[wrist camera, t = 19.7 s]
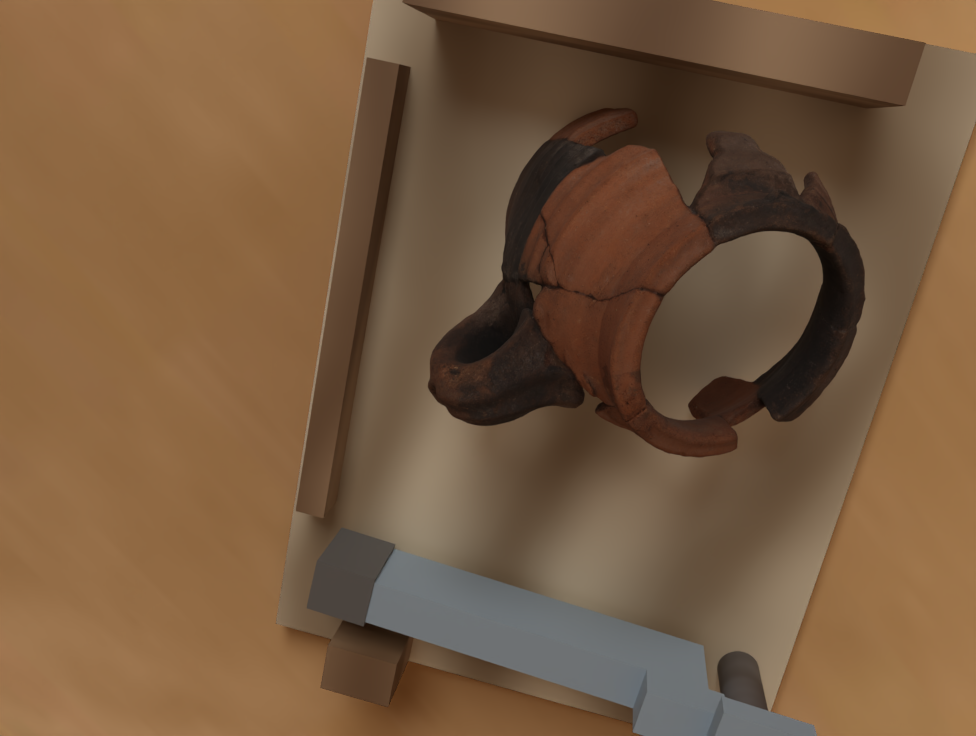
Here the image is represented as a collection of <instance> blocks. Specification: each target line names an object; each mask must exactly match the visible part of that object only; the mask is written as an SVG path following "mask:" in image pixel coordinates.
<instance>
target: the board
mask: <svg viewBox="0 0 976 736" xmlns="http://www.w3.org/2000/svg"><path fill="white" fill-rule="evenodd" d="M603 108H613V109H616V108H629V109H632V110H634V111H635V112H636V114H637V117H638V124H637V126H636V127H634V128H632V129H629V130H626V131H624V132H621V133H618V134H616V135H613V136H611V137H609V138H607V139H604V140H602V141H600V142H598V143H596V144H595V145H593V147H596V148H598V149H602V150H603V151H604V153H605V155H606V156H608V155H610V154H611V153H613V152H615V151H617V150H618V149H620V148H622V147H625V146H627V145H641V146H644V147H647V148H648V149H655V150H657V151H658V153H659V154H660V156H661V158H662V161H663V163H664V165H665V167H666V168H667V170H668V172H669V174H670V176H671V178H672V180H673V182H674V184H675V185H676V186H677V187H678V189H679V191H680V193H681V195H682V198H683V200H684V202H685V203H686V205H687V206H690V205H691V203H692V202H693V200H694V198H695V196H696V194H697V192H698V191H699V190H700V188H701V186H702V183H703V181H704V178H705V175H706V171H707V168H708V165H709V163H710V162H711V160H712V159H713V158H712V156H711V155H710V153H709V151H708V149H707V145H706V137H707V135H708V134H709V133H711V132H714V131H727V132H736V133H744V134H747V135H749V136H750V137H752V138H753V139H754V140H755V142H756V143H757V145H758V146H759V148H760V149H761V150H762V151H763V152H765V153H767V154H769V155H771V156H773V157H774V158H776V159H777V160H779V161H780V162H781V163H782V164H783V166H784V167H785V169H786V170H787V172H788V173H789V174H790V175H791V176H792V178H793V180H794V183H795V186H796V189H797V190H798V193H799V195H800V194H801V193H802V191H803V190H804V181H803V180H804V177H805V176H806V175H807V173H809V172H816V173H817V174H818V176H819V178H820V180H821V182H822V183H823V185H824V187H825V189H826V190H827V192H828V194H829V196H830V199H831V201H832V205H833V207H834V210H835V213H836V217H837V220H838V223H840V224H842V225H843V226H845V227H846V228H847V230H848V232H849V234H850V236H851V237H852V238H853V240H854V241H855V243H856V244H857V247H858V249H859V251H860V255H861V258H862V260H863V265H864V269H865V286H864V288H865V289H864V291H865V298H866V300H865V302H864V306H863V309H862V315H861V318H860V321H859V322H858V323H857V325H856V326H857V333H856V336H855V338H854V341H853V344H852V347H851V349H850V351H849V354H848V356H847V357H846V359H845V361H844V363H843V365H842V366H841V368H840V369H839V371H838V372H837V374H836V376H835V377H834V379H833V380H832V381H831V382H830V384H829V385H828V386H827V387H826V388H825V389H824V391H823V392H822V394H821V395H820V396H819V397H818V398H817V399H816V400H815V402H814V403H813V404H812V405H811V406H810V407H808V408H807V409H806V410H805V411H804V412H803V413H802V414H801V415H800V416H799V417H798V418H796V419H794V420H793V421H790V422H777V421H775V420H774V419H773V418H772V417H771V415H770V413H769V411H768V410H767V408H766V407H764V408H763V409H761V410H760V411H759V412H757V413H755V414H754V415H753V416H751V417H750V418H748V419H747V420H745V421H743V422H741V423H739V424H737V425H734V426H732V428H733V429H734V430H735V431H736V433H737V436H738V443H737V449H735V450H733V451H731V452H728V453H725V454H721V455H714V456H707V457H700V458H698V457H684V456H681V455H674V454H668V453H666V452H664V451H662V450H659V449H657V448H655V447H653V446H652V445H650V444H648V443H647V442H646V441H645V440H643V439H642V438H641V437H639V436H637V435H636V434H635V433H634V432H632V431H630V430H627V429H624V428H621V427H619V426H616V425H614V424H612V423H610V422H608V421H606V420H604V419H602V418H601V417H600V416H598V415H597V414H596V413H595V409H596V407H597V405H598V404H599V403H601V402H602V401H601V400H600V399H599V398H597V397H593V396H591V395H590V394H589V393H588V392H587V391H586V390H585V389H584V388H583V390H584V393H585V397H584V402H583V404H581V405H580V406H578V407H577V408H564V407H560V406H547V407H542V408H539V409H536V410H534V411H531V412H529V413H528V414H526V415H524V416H523V417H520V418H518V419H516V420H513V421H510V422H506V423H503V424H498V425H493V426H477V425H472V424H468V423H466V422H464V421H462V420H459V419H456V418H455V417H453V416H452V415H451V414H450V413H449V412H448V410H447V408H446V407H445V406H444V405H441V404H440V403H438V402H437V400H436V399H435V398H434V396H433V395H432V394H431V392H430V391H429V389H428V382H429V379H430V358H431V354H432V351H433V350H434V348H435V346H436V345H437V344H438V342H439V341H440V340H441V339H442V338H443V336H444V335H445V334H446V333H447V332H448V331H449V330H451V329H452V328H453V327H454V326H456V325H457V324H458V323H460V322H461V321H462V320H463V319H465V318H466V317H468V316H469V315H471V314H473V313H475V312H476V311H477V310H478V309H479V308H480V307H481V306H482V305H483V304H484V303H485V302H486V301H487V300H488V299H489V297H490V296H491V295H492V293H493V292H494V290H495V289H496V287H497V285H498V284H499V283H500V282H501V281H502V280H503V276H502V275H503V273H502V270H501V265H502V262H503V252H504V246H505V221H506V212H507V207H508V204H509V200H510V197H511V194H512V191H513V189H514V187H515V184H516V182H517V180H518V178H519V176H520V174H521V172H522V170H523V169H524V167H525V166H526V164H527V163H528V162H529V160H530V159H531V158H532V156H533V155H534V153H535V152H536V151H537V150H538V149H539V148H540V147H541V145H542V144H543V143H544V142H546V141H548V140H549V139H550V138H551V137H552V136H553V135H554V134H555V133H557V132H558V131H559V130H561V129H562V128H563V127H565V126H566V125H568V124H569V123H571V122H573V121H574V120H576V119H578V118H580V117H582V116H584V115H586V114H588V113H591V112H594V111H597V110H600V109H603ZM975 123H976V54H974V53H969V52H964V51H959V50H954V49H949V48H944V47H939V46H934V45H929V44H926V43H924V42H919V41H914V40H909V39H904V38H899V37H894V36H888V35H883V34H878V33H873V32H868V31H863V30H858V29H853V28H848V27H843V26H838V25H833V24H828V23H823V22H818V21H813V20H808V19H803V18H798V17H793V16H788V15H783V14H778V13H773V12H768V11H763V10H757V9H752V8H747V7H742V6H737V5H732V4H727V3H722V2H717V1H712V0H373V5H372V12H371V18H370V25H369V31H368V37H367V44H366V50H365V57H364V63H363V69H362V76H361V82H360V89H359V95H358V101H357V108H356V114H355V121H354V127H353V133H352V140H351V146H350V153H349V159H348V165H347V172H346V178H345V185H344V191H343V197H342V204H341V210H340V217H339V223H338V229H337V236H336V242H335V249H334V255H333V261H332V268H331V274H330V280H329V287H328V293H327V300H326V306H325V312H324V319H323V325H322V332H321V338H320V344H319V351H318V357H317V364H316V370H315V376H314V383H313V389H312V396H311V402H310V408H309V415H308V421H307V428H306V434H305V440H304V447H303V453H302V460H301V466H300V472H299V479H298V485H297V492H296V498H295V504H294V511H293V517H292V524H291V530H290V536H289V543H288V549H287V556H286V562H285V568H284V575H283V581H282V587H281V594H280V600H279V607H278V613H277V619H276V624H279V625H282V626H286V627H290V628H293V629H297V630H300V631H304V632H307V633H311V634H315V635H318V636H322V637H325V638H329V639H331V641H330V643H329V644H328V648H327V654H326V659H325V665H324V671H323V676H322V682H321V688H323V689H326V690H329V691H333V692H336V693H340V694H343V695H347V696H350V697H354V698H357V699H361V700H364V701H368V702H371V703H375V704H378V705H382V706H385V707H388V706H389V704H390V702H391V699H392V697H393V695H394V692H395V690H396V688H397V685H398V683H399V681H400V679H401V676H402V674H403V672H404V669H405V667H406V665H407V662H408V661H411V662H414V663H418V664H422V665H425V666H429V667H432V668H436V669H439V670H443V671H447V672H450V673H454V674H457V675H461V676H464V677H468V678H472V679H475V680H479V681H482V682H486V683H489V684H493V685H496V686H500V687H504V688H507V689H511V690H514V691H518V692H521V693H525V694H529V695H532V696H536V697H539V698H543V699H546V700H550V701H554V702H557V703H561V704H564V705H568V706H571V707H575V708H579V709H582V710H586V711H589V712H593V713H596V714H600V715H604V716H607V717H611V718H614V719H618V720H621V721H625V722H628V723H632V724H633V708H630V707H627V706H624V705H621V704H618V703H615V702H612V701H609V700H606V699H602V698H599V697H596V696H593V695H590V694H587V693H584V692H581V691H578V690H575V689H571V688H568V687H565V686H562V685H559V684H556V683H553V682H550V681H547V680H544V679H540V678H537V677H534V676H531V675H528V674H525V673H522V672H519V671H516V670H512V669H509V668H506V667H503V666H500V665H497V664H494V663H491V662H488V661H485V660H481V659H478V658H475V657H472V656H469V655H466V654H463V653H460V652H457V651H454V650H450V649H447V648H444V647H441V646H438V645H435V644H432V643H429V642H426V641H422V640H419V639H416V638H413V637H410V636H407V635H404V634H401V633H398V632H395V631H391V630H388V629H385V628H382V627H379V626H376V625H373V624H370V623H367V622H366V623H365V625H364V626H360V625H357V624H354V623H351V622H348V621H345V620H342V619H338V618H335V617H332V616H329V615H326V614H323V613H320V612H317V611H314V610H311V609H307V608H306V607H307V603H308V598H309V594H310V589H311V585H312V580H313V576H314V571H315V567H316V562H317V560H318V559H319V557H320V556H321V555H322V553H323V552H324V551H325V549H326V548H327V547H328V545H329V544H330V543H331V541H332V540H333V539H334V537H335V536H336V535H337V533H338V532H339V530H340V529H341V528H345V529H349V530H352V531H355V532H358V533H361V534H364V535H368V536H371V537H374V538H377V539H380V540H384V541H387V542H390V543H393V544H395V548H394V549H397V550H400V551H404V552H407V553H410V554H413V555H416V556H419V557H423V558H426V559H429V560H432V561H435V562H439V563H442V564H445V565H448V566H451V567H454V568H458V569H461V570H464V571H467V572H470V573H474V574H477V575H480V576H483V577H486V578H490V579H493V580H496V581H499V582H502V583H505V584H509V585H512V586H515V587H518V588H521V589H525V590H528V591H531V592H534V593H537V594H540V595H544V596H547V597H550V598H553V599H556V600H560V601H563V602H566V603H569V604H572V605H576V606H579V607H582V608H585V609H588V610H591V611H595V612H598V613H601V614H604V615H607V616H611V617H614V618H617V619H620V620H623V621H626V622H630V623H633V624H636V625H639V626H642V627H646V628H649V629H652V630H655V631H658V632H662V633H665V634H668V635H671V636H674V637H677V638H681V639H684V640H687V641H690V642H693V643H697V644H700V645H703V646H704V655H705V663H706V671H707V679H708V688H709V689H710V690H713V691H716V692H719V693H722V694H724V696H725V697H726V698H729V699H732V700H736V701H739V702H742V703H745V704H748V705H751V706H754V707H758V708H761V709H764V710H767V711H770V712H771V709H772V706H773V703H774V700H775V697H776V694H777V692H778V689H779V686H780V683H781V680H782V677H783V674H784V671H785V669H786V666H787V663H788V660H789V657H790V654H791V651H792V648H793V646H794V643H795V640H796V637H797V634H798V631H799V628H800V625H801V623H802V620H803V617H804V614H805V611H806V608H807V605H808V602H809V600H810V597H811V594H812V591H813V588H814V585H815V582H816V580H817V577H818V574H819V571H820V568H821V565H822V562H823V559H824V557H825V554H826V551H827V548H828V545H829V542H830V539H831V536H832V534H833V531H834V528H835V525H836V522H837V519H838V516H839V513H840V511H841V508H842V505H843V502H844V499H845V496H846V493H847V490H848V488H849V485H850V482H851V479H852V476H853V473H854V470H855V467H856V465H857V462H858V459H859V456H860V453H861V450H862V447H863V444H864V442H865V439H866V436H867V433H868V430H869V427H870V424H871V421H872V419H873V416H874V413H875V410H876V407H877V404H878V401H879V398H880V396H881V393H882V390H883V387H884V384H885V381H886V378H887V375H888V373H889V370H890V367H891V364H892V361H893V358H894V355H895V352H896V350H897V347H898V344H899V341H900V338H901V335H902V332H903V329H904V327H905V324H906V321H907V318H908V315H909V312H910V309H911V306H912V304H913V301H914V298H915V295H916V292H917V289H918V286H919V283H920V281H921V278H922V275H923V272H924V269H925V266H926V263H927V260H928V258H929V255H930V252H931V249H932V246H933V243H934V240H935V237H936V235H937V232H938V229H939V226H940V223H941V220H942V217H943V215H944V212H945V209H946V206H947V203H948V200H949V197H950V194H951V192H952V189H953V186H954V183H955V180H956V177H957V174H958V171H959V169H960V166H961V163H962V160H963V157H964V154H965V151H966V148H967V146H968V143H969V140H970V137H971V134H972V131H973V128H974V125H975ZM822 283H823V271H822V264H821V261H820V259H819V256H818V254H817V252H816V250H815V249H814V247H813V246H812V244H811V243H810V242H809V241H808V240H807V239H805V238H803V237H801V236H798V235H796V234H793V233H789V232H779V231H764V232H757V233H753V234H749V235H746V236H743V237H740V238H737V239H735V240H732V241H729V242H726V243H723V244H720V245H718V246H716V247H715V249H714V250H713V251H712V252H711V253H709V254H708V255H707V256H705V257H704V258H703V259H701V260H700V261H699V262H698V263H697V264H695V265H694V266H693V267H692V268H691V269H690V270H689V271H688V272H686V273H685V274H684V275H683V276H682V277H681V278H680V279H679V280H678V281H677V283H676V284H675V285H674V287H673V288H672V289H671V290H670V292H668V293H667V294H666V295H665V296H664V298H663V300H662V302H661V305H660V306H659V308H658V310H657V312H656V314H655V316H654V318H653V320H652V322H651V324H650V326H649V329H648V333H647V335H646V339H645V342H644V346H643V350H642V358H641V368H640V370H641V383H642V389H643V391H644V394H645V398H646V399H647V400H648V401H649V402H650V403H651V405H652V406H653V407H654V409H655V410H656V411H658V412H659V413H660V414H662V415H664V416H666V417H668V418H672V419H677V420H695V418H694V417H693V416H692V414H691V412H690V410H689V408H688V404H689V402H690V401H691V400H692V398H693V397H694V396H695V395H697V394H698V393H699V391H700V390H701V389H702V388H704V387H705V386H707V385H708V384H709V383H710V382H711V381H713V380H714V379H716V378H719V377H721V376H727V377H731V378H736V379H742V380H745V381H749V382H753V381H755V380H756V379H757V378H758V377H760V376H761V375H762V374H764V373H765V372H767V371H768V370H769V369H770V368H771V367H772V366H773V365H775V364H776V363H777V362H778V361H780V360H781V359H782V358H783V357H784V356H785V355H786V354H787V353H788V352H789V351H790V350H791V349H792V348H793V346H794V345H795V344H796V343H797V342H798V340H799V339H800V337H801V335H802V334H803V332H804V330H805V328H806V326H807V324H808V322H809V320H810V317H811V315H812V312H813V310H814V307H815V304H816V301H817V297H818V294H819V292H820V289H821V285H822ZM530 288H531V291H532V295H533V298H534V301H535V299H536V296H537V295H538V294H539V293H540V291H541V288H542V287H541V285H536V284H534V283H531V282H530Z"/></svg>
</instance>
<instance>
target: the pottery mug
mask: <svg viewBox="0 0 976 736" xmlns="http://www.w3.org/2000/svg"><path fill="white" fill-rule="evenodd" d="M637 124H638V117H637V114H636V112H635V111H634V110H632V109H629V108H616V109H613V108H603V109H600V110H597V111H594V112H591V113H588V114H586V115H584V116H582V117H580V118H578V119H576V120H574V121H573V122H571V123H569V124H568V125H566V126H565V127H563V128H562V129H561V130H559V131H558V132H557V133H555V134H554V135H553V136H552V137H551V138H550V139H549V140H548V141H546V142H544V143H543V144H542V145H541V147H540V148H539V149H538V150H537V151H536V152H535V153H534V155H533V156H532V158H531V159H530V160H529V162H528V163H527V164H526V166H525V167H524V169H523V170H522V172H521V174H520V176H519V178H518V180H517V182H516V184H515V187H514V189H513V191H512V194H511V197H510V200H509V204H508V207H507V212H506V221H505V246H504V252H503V262H502V265H501V270H502V273H503V275H502V276H503V280H502V281H501V282H500V283H499V284H498V285H497V287H496V289H495V290H494V292H493V293H492V295H491V296H490V297H489V299H488V300H487V301H486V302H485V303H484V304H483V305H482V306H481V307H480V308H479V309H478V310H477V311H476V312H475V313H473V314H471V315H469V316H468V317H466V318H465V319H463V320H462V321H461V322H460V323H458V324H457V325H456V326H454V327H453V328H452V329H451V330H449V331H448V332H447V333H446V334H445V335H444V336H443V338H442V339H441V340H440V341H439V342H438V344H437V345H436V346H435V348H434V350H433V351H432V354H431V358H430V379H429V382H428V389H429V391H430V392H431V394H432V395H433V396H434V398H435V399H436V400H437V402H438V403H440V404H441V405H444V406H445V407H446V408H447V410H448V412H449V413H450V414H451V415H452V416H453V417H455V418H456V419H459V420H462V421H464V422H466V423H468V424H472V425H477V426H493V425H498V424H503V423H506V422H510V421H513V420H516V419H518V418H520V417H523V416H524V415H526V414H528V413H529V412H531V411H534V410H536V409H539V408H542V407H547V406H560V407H564V408H577V407H578V406H580V405H581V404H583V402H584V397H585V393H584V390H583V388H584V389H585V390H586V391H587V392H588V393H589V394H590V395H591V396H593V397H597V398H599V399H600V400H601V401H602V402H601V403H599V404H598V405H597V407H596V409H595V413H596V414H597V415H598V416H600V417H601V418H602V419H604V420H606V421H608V422H610V423H612V424H614V425H616V426H619V427H621V428H624V429H627V430H630V431H632V432H634V433H635V434H636V435H637V436H639V437H641V438H642V439H643V440H645V441H646V442H647V443H648V444H650V445H652V446H653V447H655V448H657V449H659V450H662V451H664V452H666V453H668V454H674V455H681V456H684V457H698V458H700V457H707V456H714V455H721V454H725V453H728V452H731V451H733V450H735V449H737V443H738V436H737V433H736V431H735V430H734V429H733V428H732V426H734V425H737V424H739V423H741V422H743V421H745V420H747V419H748V418H750V417H751V416H753V415H754V414H755V413H757V412H759V411H760V410H761V409H763V408H764V407H766V408H767V410H768V411H769V413H770V415H771V417H772V418H773V419H774V420H775V421H777V422H790V421H793V420H794V419H796V418H798V417H799V416H800V415H801V414H802V413H803V412H804V411H805V410H806V409H807V408H808V407H810V406H811V405H812V404H813V403H814V402H815V400H816V399H817V398H818V397H819V396H820V395H821V394H822V392H823V391H824V389H825V388H826V387H827V386H828V385H829V384H830V382H831V381H832V380H833V379H834V377H835V376H836V374H837V372H838V371H839V369H840V368H841V366H842V365H843V363H844V361H845V359H846V357H847V356H848V354H849V351H850V349H851V347H852V344H853V341H854V338H855V336H856V333H857V326H856V325H857V323H858V322H859V321H860V318H861V315H862V309H863V306H864V302H865V300H866V298H865V291H864V289H865V288H864V286H865V269H864V265H863V260H862V258H861V255H860V251H859V249H858V247H857V244H856V243H855V241H854V240H853V238H852V237H851V236H850V234H849V232H848V230H847V228H846V227H845V226H843V225H842V224H840V223H838V220H837V217H836V213H835V210H834V207H833V205H832V201H831V199H830V196H829V194H828V192H827V190H826V189H825V187H824V185H823V183H822V182H821V180H820V178H819V176H818V174H817V173H816V172H809V173H807V175H806V176H805V177H804V180H803V181H804V190H803V191H802V193H801V194H800V195H799V193H798V190H797V189H796V186H795V183H794V180H793V178H792V176H791V175H790V174H789V173H788V172H787V170H786V169H785V167H784V166H783V164H782V163H781V162H780V161H779V160H777V159H776V158H774V157H773V156H771V155H769V154H767V153H765V152H763V151H762V150H761V149H760V148H759V146H758V145H757V143H756V142H755V140H754V139H753V138H752V137H750V136H749V135H747V134H744V133H736V132H727V131H714V132H711V133H709V134H708V135H707V137H706V145H707V149H708V151H709V153H710V155H711V156H712V158H713V159H712V160H711V162H710V163H709V165H708V168H707V171H706V175H705V178H704V181H703V183H702V186H701V188H700V190H699V191H698V192H697V194H696V196H695V198H694V200H693V202H692V203H691V205H690V206H687V205H686V203H685V202H684V200H683V198H682V195H681V193H680V191H679V189H678V187H677V186H676V185H675V184H674V182H673V180H672V178H671V176H670V174H669V172H668V170H667V168H666V167H665V165H664V163H663V161H662V158H661V156H660V154H659V153H658V151H657V150H655V149H648V148H647V147H644V146H641V145H627V146H625V147H622V148H620V149H618V150H617V151H615V152H613V153H611V154H610V155H608V156H606V155H605V153H604V151H603V150H602V149H598V148H596V147H593V145H595V144H596V143H598V142H600V141H602V140H604V139H607V138H609V137H611V136H613V135H616V134H618V133H621V132H624V131H626V130H629V129H632V128H634V127H636V126H637ZM764 231H779V232H789V233H793V234H796V235H798V236H801V237H803V238H805V239H807V240H808V241H809V242H810V243H811V244H812V246H813V247H814V249H815V250H816V252H817V254H818V256H819V259H820V261H821V264H822V271H823V283H822V285H821V289H820V292H819V294H818V297H817V301H816V304H815V307H814V310H813V312H812V315H811V317H810V320H809V322H808V324H807V326H806V328H805V330H804V332H803V334H802V335H801V337H800V339H799V340H798V342H797V343H796V344H795V345H794V346H793V348H792V349H791V350H790V351H789V352H788V353H787V354H786V355H785V356H784V357H783V358H782V359H781V360H780V361H778V362H777V363H776V364H775V365H773V366H772V367H771V368H770V369H769V370H768V371H767V372H765V373H764V374H762V375H761V376H760V377H758V378H757V379H756V380H755V381H753V382H749V381H745V380H742V379H736V378H731V377H727V376H721V377H719V378H716V379H714V380H713V381H711V382H710V383H709V384H708V385H707V386H705V387H704V388H702V389H701V390H700V391H699V393H698V394H697V395H695V396H694V397H693V398H692V400H691V401H690V402H689V404H688V408H689V410H690V412H691V414H692V416H693V417H694V418H695V420H677V419H672V418H668V417H666V416H664V415H662V414H660V413H659V412H658V411H656V410H655V409H654V407H653V406H652V405H651V403H650V402H649V401H648V400H647V399H646V398H645V394H644V391H643V389H642V383H641V370H640V368H641V358H642V350H643V346H644V342H645V339H646V335H647V333H648V329H649V326H650V324H651V322H652V320H653V318H654V316H655V314H656V312H657V310H658V308H659V306H660V305H661V302H662V300H663V298H664V296H665V295H666V294H667V293H668V292H670V290H671V289H672V288H673V287H674V285H675V284H676V283H677V281H678V280H679V279H680V278H681V277H682V276H683V275H684V274H685V273H686V272H688V271H689V270H690V269H691V268H692V267H693V266H694V265H695V264H697V263H698V262H699V261H700V260H701V259H703V258H704V257H705V256H707V255H708V254H709V253H711V252H712V251H713V250H714V249H715V247H716V246H718V245H720V244H723V243H726V242H729V241H732V240H735V239H737V238H740V237H743V236H746V235H749V234H753V233H757V232H764ZM530 282H531V283H534V284H536V285H541V287H542V288H541V291H540V293H539V294H538V295H537V296H536V299H535V301H534V298H533V295H532V291H531V288H530Z"/></svg>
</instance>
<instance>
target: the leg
mask: <svg viewBox="0 0 976 736" xmlns="http://www.w3.org/2000/svg"><path fill="white" fill-rule="evenodd" d="M394 548H395V544H393V543H390V542H387V541H384V540H380V539H377V538H374V537H371V536H368V535H364V534H361V533H358V532H355V531H352V530H349V529H345V528H341V529H340V530H339V532H338V533H337V535H336V536H335V537H334V539H333V540H332V541H331V543H330V544H329V545H328V547H327V548H326V549H325V551H324V552H323V553H322V555H321V556H320V557H319V559H318V560H317V562H316V567H315V571H314V576H313V580H312V585H311V589H310V594H309V598H308V603H307V607H306V608H307V609H311V610H314V611H317V612H320V613H323V614H326V615H329V616H332V617H335V618H338V619H342V620H345V621H348V622H351V623H354V624H357V625H360V626H364V625H365V623H366V622H367V623H370V624H373V625H376V626H379V627H382V628H385V629H388V630H391V631H395V632H398V633H401V634H404V635H407V636H410V637H413V638H416V639H419V640H422V641H426V642H429V643H432V644H435V645H438V646H441V647H444V648H447V649H450V650H454V651H457V652H460V653H463V654H466V655H469V656H472V657H475V658H478V659H481V660H485V661H488V662H491V663H494V664H497V665H500V666H503V667H506V668H509V669H512V670H516V671H519V672H522V673H525V674H528V675H531V676H534V677H537V678H540V679H544V680H547V681H550V682H553V683H556V684H559V685H562V686H565V687H568V688H571V689H575V690H578V691H581V692H584V693H587V694H590V695H593V696H596V697H599V698H602V699H606V700H609V701H612V702H615V703H618V704H621V705H624V706H627V707H630V708H633V732H634V733H637V734H640V735H643V736H817V734H816V731H815V727H814V725H811V724H808V723H805V722H802V721H798V720H795V719H792V718H789V717H786V716H783V715H780V714H776V713H773V712H770V711H767V710H764V709H761V708H758V707H754V706H751V705H748V704H745V703H742V702H739V701H736V700H732V699H729V698H726V697H725V696H724V694H722V693H719V692H716V691H713V690H710V689H709V688H708V679H707V671H706V663H705V655H704V646H703V645H700V644H697V643H693V642H690V641H687V640H684V639H681V638H677V637H674V636H671V635H668V634H665V633H662V632H658V631H655V630H652V629H649V628H646V627H642V626H639V625H636V624H633V623H630V622H626V621H623V620H620V619H617V618H614V617H611V616H607V615H604V614H601V613H598V612H595V611H591V610H588V609H585V608H582V607H579V606H576V605H572V604H569V603H566V602H563V601H560V600H556V599H553V598H550V597H547V596H544V595H540V594H537V593H534V592H531V591H528V590H525V589H521V588H518V587H515V586H512V585H509V584H505V583H502V582H499V581H496V580H493V579H490V578H486V577H483V576H480V575H477V574H474V573H470V572H467V571H464V570H461V569H458V568H454V567H451V566H448V565H445V564H442V563H439V562H435V561H432V560H429V559H426V558H423V557H419V556H416V555H413V554H410V553H407V552H404V551H400V550H397V549H394Z"/></svg>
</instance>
